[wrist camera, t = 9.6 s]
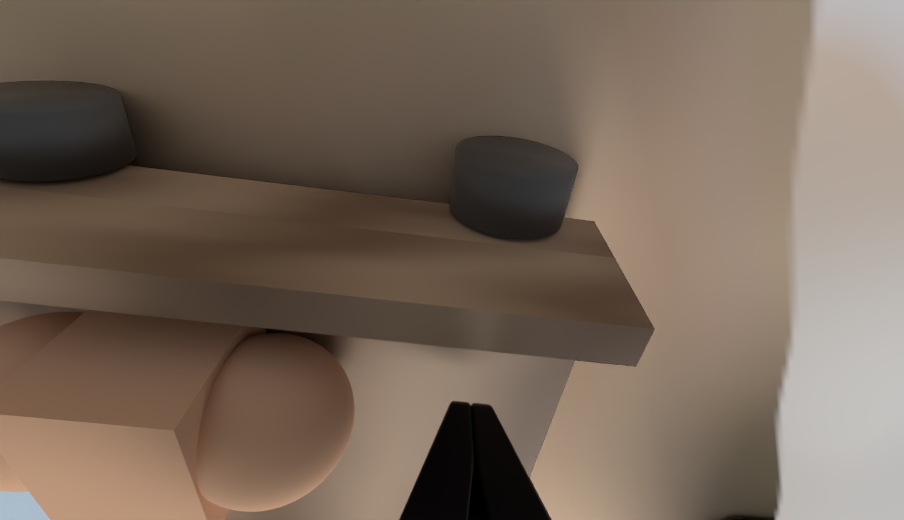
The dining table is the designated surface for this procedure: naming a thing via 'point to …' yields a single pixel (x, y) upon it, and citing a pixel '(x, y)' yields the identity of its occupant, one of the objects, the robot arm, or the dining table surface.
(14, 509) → the tailgate
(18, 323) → the cube with rounded ends
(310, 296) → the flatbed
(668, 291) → the dining table surface
